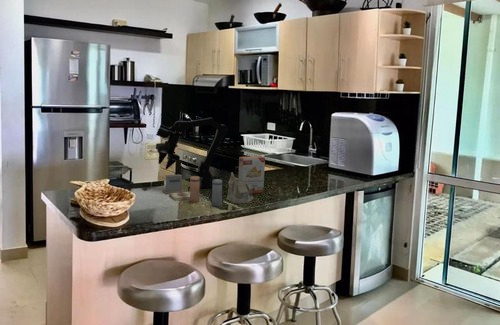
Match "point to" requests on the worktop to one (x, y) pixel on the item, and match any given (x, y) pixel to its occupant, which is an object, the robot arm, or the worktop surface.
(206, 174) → the robot arm
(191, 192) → the terracotta cartridge
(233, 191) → the ceramic cottage
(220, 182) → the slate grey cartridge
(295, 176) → the worktop surface
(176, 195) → the birch dock plate
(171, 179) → the service housing
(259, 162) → the cracker box
